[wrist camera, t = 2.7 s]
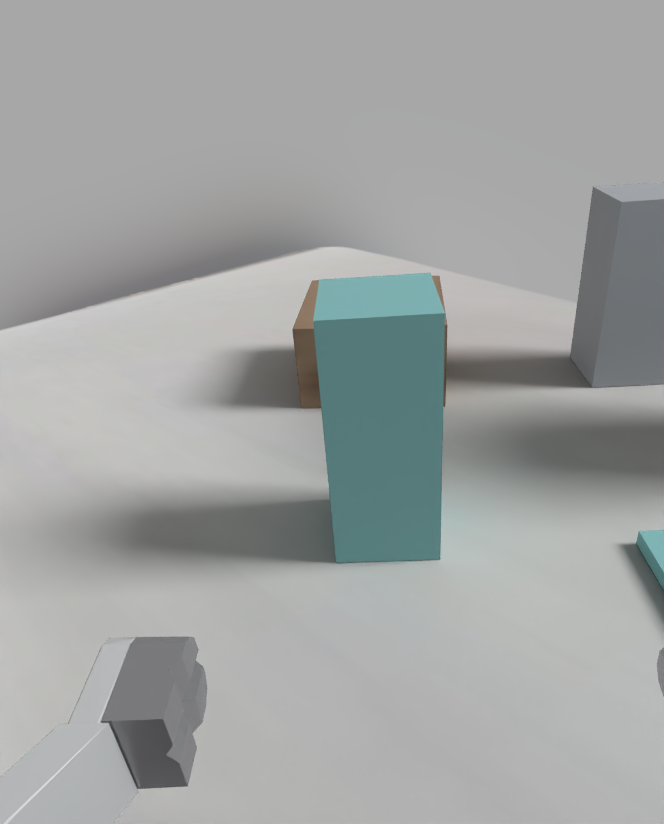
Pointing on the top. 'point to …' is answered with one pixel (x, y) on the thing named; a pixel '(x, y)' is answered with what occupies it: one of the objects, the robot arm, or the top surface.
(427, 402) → the teal block
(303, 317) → the base block
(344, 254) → the top surface
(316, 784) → the top surface
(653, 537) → the tile
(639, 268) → the grey block
